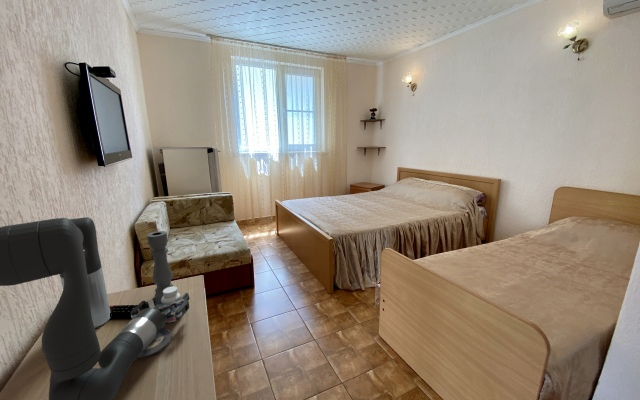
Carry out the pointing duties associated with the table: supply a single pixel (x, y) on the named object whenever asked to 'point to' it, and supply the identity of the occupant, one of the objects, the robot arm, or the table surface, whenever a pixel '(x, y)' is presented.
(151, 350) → the small round plate
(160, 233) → the candle holder
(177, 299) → the pill bottle
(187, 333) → the table surface
